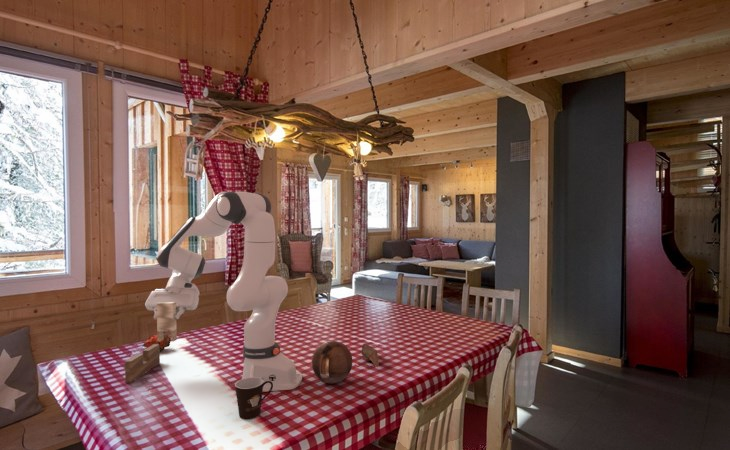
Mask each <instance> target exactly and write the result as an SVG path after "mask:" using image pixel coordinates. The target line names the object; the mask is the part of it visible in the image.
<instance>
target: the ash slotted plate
mask: <svg viewBox="0 0 730 450" xmlns="http://www.w3.org/2000/svg"><path fill="white" fill-rule="evenodd" d="M175 313H177V310H176V302H159V303H157V319H156V325H157V326H156V329H157V333H156V335H157V337H158V342H159V341H162V340H164V335H165V332H170V339H171V342H176V340H178V339H177V335H178V334H177V332H178V331H177V319H174V318H173V316H174V314H175Z"/></svg>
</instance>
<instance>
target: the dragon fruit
mask: <svg viewBox="0 0 730 450" xmlns="http://www.w3.org/2000/svg"><path fill="white" fill-rule="evenodd" d="M171 342H172V341H171V336H170V337H169V336H168V335H167V334H164V340H162V341H159V342H158V337H157V334H153V335H152V336H150V337H149V338H148V339H147V340H146V341H145V342H144V343H143V345H142V346H141V347H142V348H143V347H144V348H145V349H147V348H148V347H150V346H152V345H153V344H159V352H160V351H161V350H162V351H165V348H168V347H170V345H171Z"/></svg>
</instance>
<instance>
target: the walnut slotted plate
mask: <svg viewBox="0 0 730 450" xmlns="http://www.w3.org/2000/svg"><path fill="white" fill-rule="evenodd" d="M146 348H147V347H146ZM146 348H145V349H143V350H142V353H136V354H134V355H133V356H131V357H129V358H128V359H126V360H125V361H124V380H125V381H124V382H125V383H133V382H134V381H136V380H137V379H139V378H140V377H142V376H143V375H145V372H146V373H147V372H149V371H151V368H152V367H153V368H154V366H155V365H156V366H157V365H159V364H160V363H161V359H160V357H161V355H160V351H159V344H153V345H152V346H150V347H148V348H147V349H146ZM158 363H159V364H158ZM156 366H155V367H156ZM153 368H152V369H153ZM148 370H149V371H148ZM141 375H142V376H141ZM138 377H139V378H138ZM135 379H136V380H135Z"/></svg>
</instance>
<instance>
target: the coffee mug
mask: <svg viewBox="0 0 730 450" xmlns="http://www.w3.org/2000/svg"><path fill="white" fill-rule="evenodd" d="M266 383H270V384H271V388H270V390H269V391H267V393H265V395H264V396H263V393H264V392H263V386H264V385H265V384H266ZM234 388H235V396H236V402H237V408H238V415H239V418H240V419H241V420H253V419H256V418H258V417H259V416H260V415H261V412H262V402H263V401H264V400H265V399H266V398H267V397H268V395H270V393H271V392H272V391H271V390H272V388H273V383H272V382H271V381H266V382H264V383H263V379H261V378H257V377H249V378H244V379H242V378H241V379H239V380H237V381H236V382H235V384H234Z"/></svg>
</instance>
